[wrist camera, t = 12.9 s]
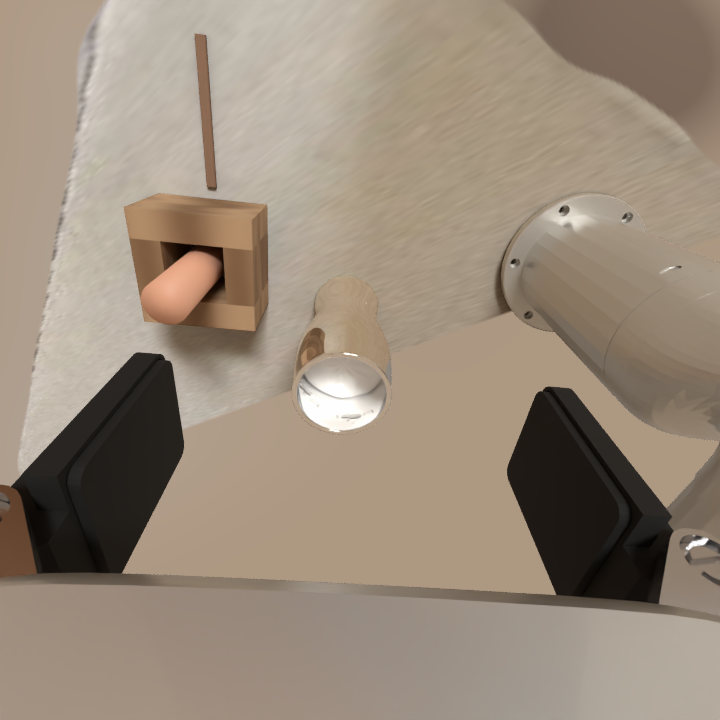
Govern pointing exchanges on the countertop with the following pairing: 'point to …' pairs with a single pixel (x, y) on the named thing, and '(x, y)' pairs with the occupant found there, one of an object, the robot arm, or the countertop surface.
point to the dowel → (183, 284)
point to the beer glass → (343, 361)
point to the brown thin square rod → (205, 108)
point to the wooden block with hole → (208, 228)
